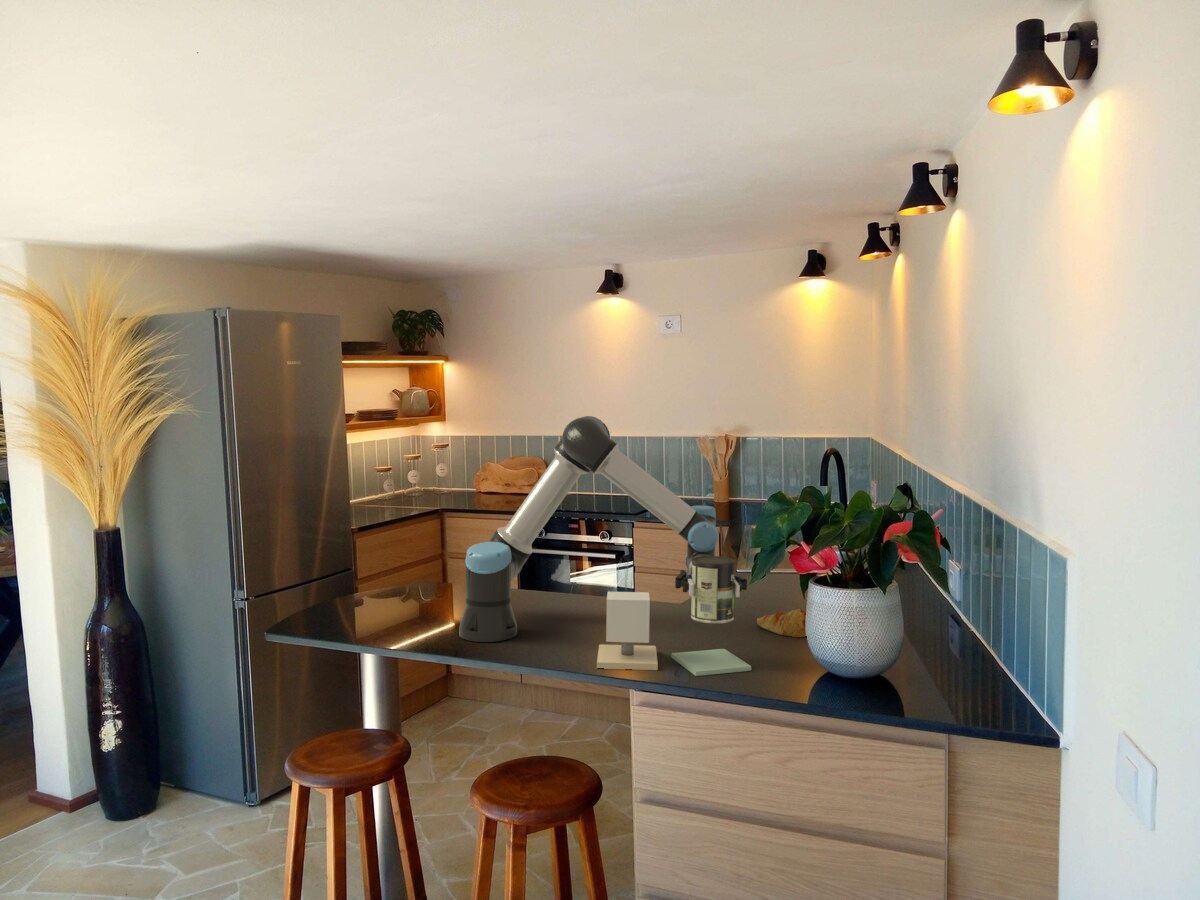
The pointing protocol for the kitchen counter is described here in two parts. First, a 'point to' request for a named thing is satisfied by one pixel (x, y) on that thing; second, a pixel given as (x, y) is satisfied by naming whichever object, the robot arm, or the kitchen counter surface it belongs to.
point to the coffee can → (713, 589)
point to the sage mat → (710, 662)
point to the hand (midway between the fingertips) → (715, 591)
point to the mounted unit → (627, 633)
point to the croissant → (785, 623)
